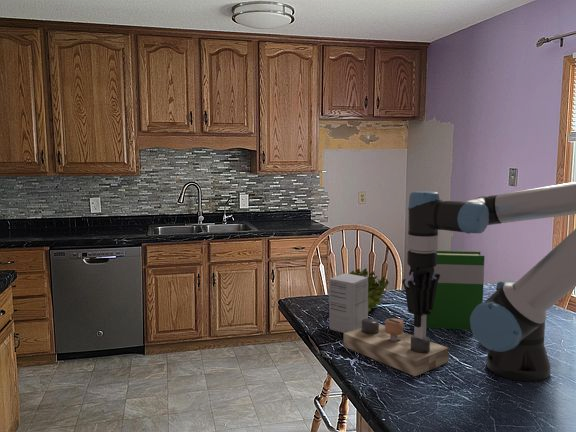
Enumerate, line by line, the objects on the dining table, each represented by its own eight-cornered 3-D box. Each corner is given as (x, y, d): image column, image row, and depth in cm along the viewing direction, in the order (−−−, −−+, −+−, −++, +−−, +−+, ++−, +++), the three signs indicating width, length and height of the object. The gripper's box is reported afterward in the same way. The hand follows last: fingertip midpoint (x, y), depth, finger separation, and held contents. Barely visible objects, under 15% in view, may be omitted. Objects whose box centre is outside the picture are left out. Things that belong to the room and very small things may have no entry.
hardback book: (477, 322, 169) (479, 251, 166) (481, 330, 162) (484, 256, 159) (422, 320, 172) (423, 250, 169) (424, 327, 165) (426, 254, 162)
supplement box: (344, 321, 172) (344, 272, 169) (368, 327, 166) (369, 276, 164) (328, 329, 164) (328, 278, 162) (352, 335, 158) (353, 282, 156)
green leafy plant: (333, 288, 195) (362, 260, 197) (362, 319, 192) (392, 289, 194) (336, 285, 177) (369, 253, 179) (368, 318, 174) (401, 286, 176)
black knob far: (382, 344, 150) (382, 321, 150) (370, 348, 147) (370, 325, 147) (369, 339, 154) (369, 317, 154) (358, 343, 151) (358, 320, 150)
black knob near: (433, 364, 136) (434, 338, 136) (421, 369, 133) (422, 343, 132) (418, 358, 140) (418, 333, 139) (406, 363, 137) (406, 338, 136)
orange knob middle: (406, 345, 143) (407, 320, 142) (394, 350, 140) (395, 324, 139) (392, 340, 147) (393, 316, 146) (381, 344, 144) (381, 320, 143)
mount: (448, 362, 138) (448, 347, 137) (415, 376, 129) (415, 361, 129) (376, 335, 158) (376, 323, 158) (343, 346, 150) (343, 333, 149)
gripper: (426, 245, 140) (423, 328, 143) (394, 251, 132) (392, 339, 135) (449, 249, 134) (446, 336, 137) (418, 256, 126) (415, 347, 129)
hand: (419, 337), depth 136 cm, fingers closed
